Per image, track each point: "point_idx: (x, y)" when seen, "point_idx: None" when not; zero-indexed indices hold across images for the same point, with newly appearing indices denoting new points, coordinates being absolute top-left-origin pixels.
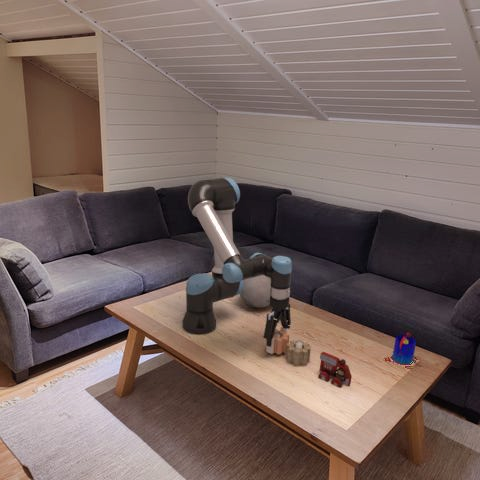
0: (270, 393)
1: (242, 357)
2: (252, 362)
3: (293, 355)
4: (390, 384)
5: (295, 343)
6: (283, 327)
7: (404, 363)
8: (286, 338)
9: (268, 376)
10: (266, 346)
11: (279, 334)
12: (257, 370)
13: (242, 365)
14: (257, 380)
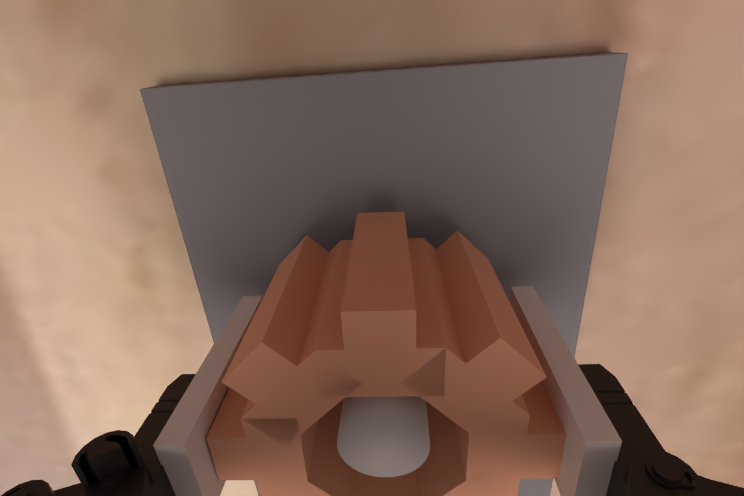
0: (29, 464)
1: (86, 82)
2: (123, 210)
3: None
4: None
5: None
6: (614, 474)
7: None
8: None
9: (119, 387)
10: (272, 284)
11: (421, 459)
12: (92, 303)
13: (14, 175)
14: (24, 363)
